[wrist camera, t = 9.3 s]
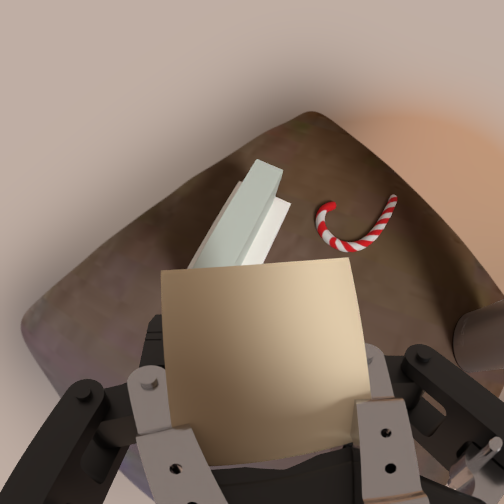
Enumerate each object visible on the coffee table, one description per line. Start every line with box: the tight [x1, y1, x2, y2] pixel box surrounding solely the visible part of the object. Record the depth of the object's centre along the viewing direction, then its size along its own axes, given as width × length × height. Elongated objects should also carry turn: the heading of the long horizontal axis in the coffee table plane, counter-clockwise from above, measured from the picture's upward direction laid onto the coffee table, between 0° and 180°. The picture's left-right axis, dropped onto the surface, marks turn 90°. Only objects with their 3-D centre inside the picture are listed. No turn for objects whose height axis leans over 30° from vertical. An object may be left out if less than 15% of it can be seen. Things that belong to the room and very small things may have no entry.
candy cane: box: [316, 194, 397, 252], centre depth 38 cm, size 8×1×15 cm
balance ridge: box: [187, 159, 291, 269], centre depth 30 cm, size 7×17×8 cm, turn 155°
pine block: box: [161, 258, 371, 466], centre depth 11 cm, size 4×4×10 cm
